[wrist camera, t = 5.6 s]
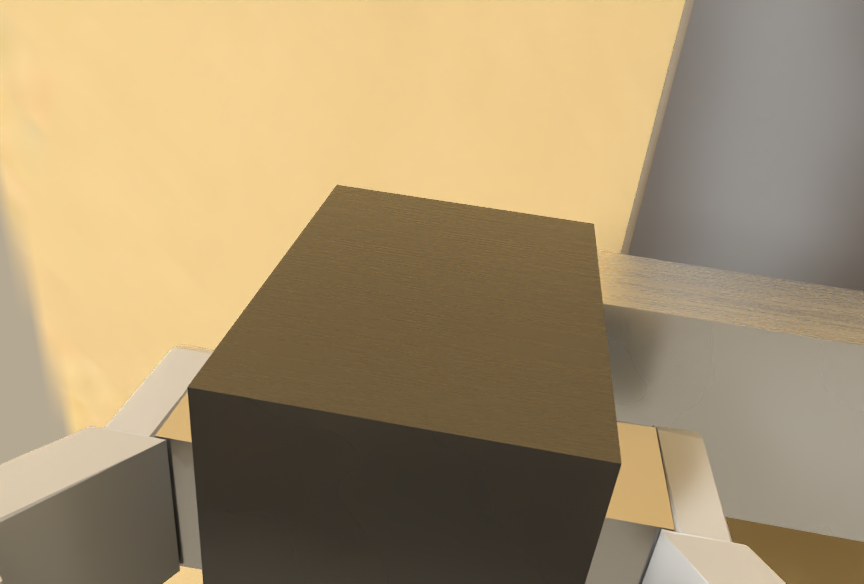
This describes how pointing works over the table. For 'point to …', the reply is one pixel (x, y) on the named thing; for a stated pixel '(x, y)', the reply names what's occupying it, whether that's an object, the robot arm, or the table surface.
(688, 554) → the robot arm
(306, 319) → the steel shaft
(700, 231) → the shaft stand
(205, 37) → the table surface
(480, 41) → the table surface
